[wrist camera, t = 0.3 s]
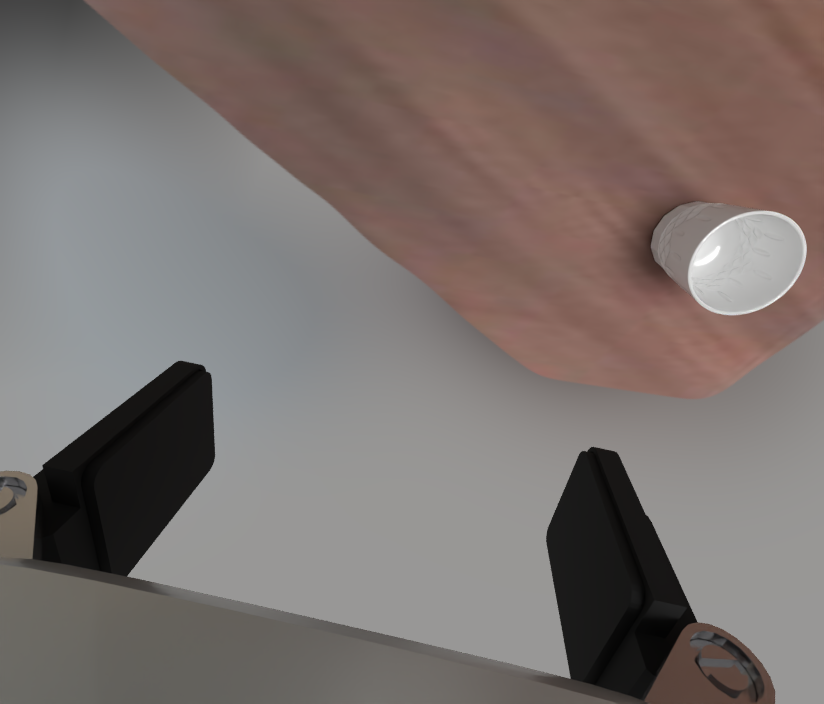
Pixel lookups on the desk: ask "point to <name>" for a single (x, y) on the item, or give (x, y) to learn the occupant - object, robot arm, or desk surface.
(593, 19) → the desk surface
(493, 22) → the desk surface
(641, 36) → the desk surface
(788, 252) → the white cup
